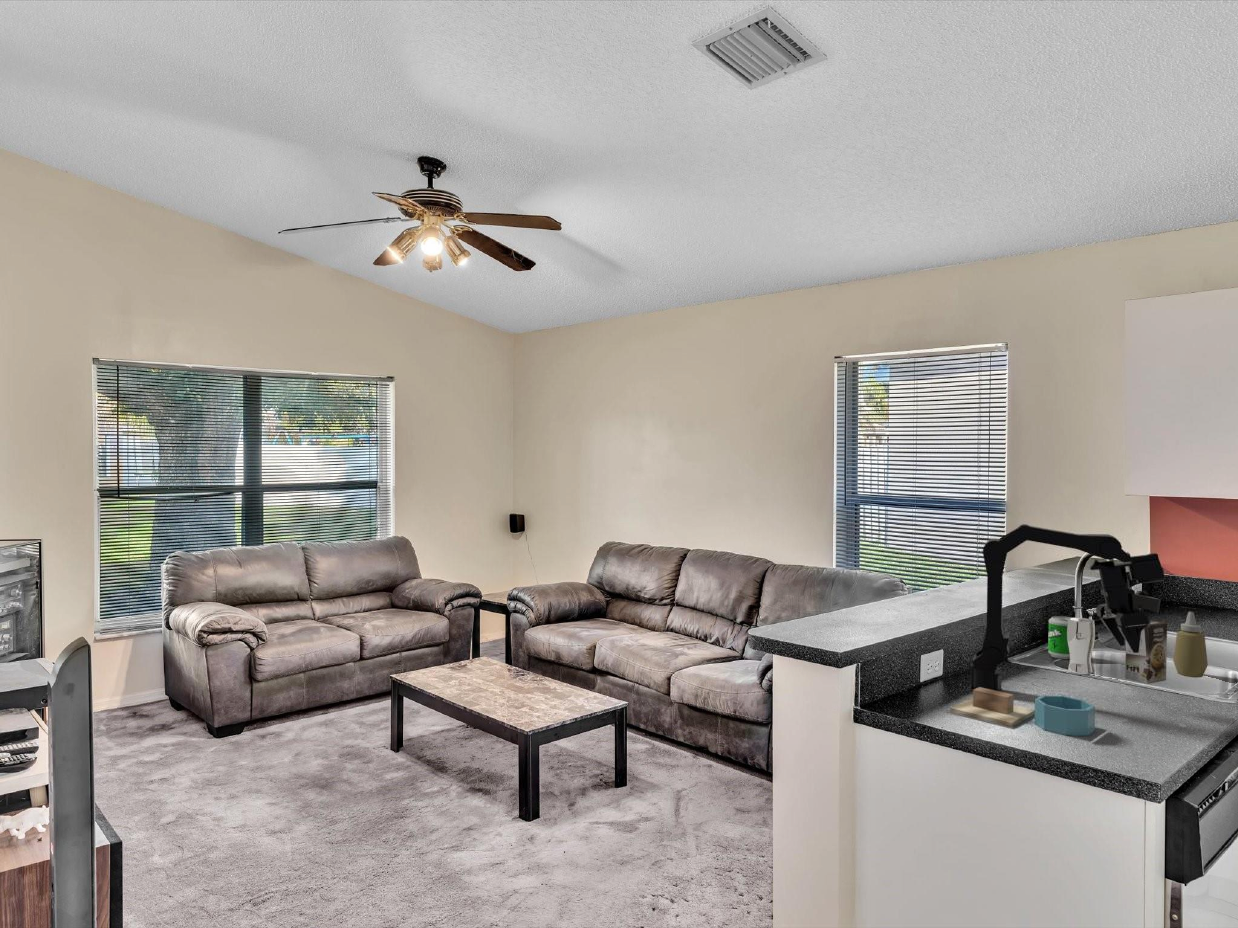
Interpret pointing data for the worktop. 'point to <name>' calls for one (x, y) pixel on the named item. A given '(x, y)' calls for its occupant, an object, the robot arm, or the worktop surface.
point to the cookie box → (1148, 655)
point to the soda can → (1058, 637)
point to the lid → (993, 707)
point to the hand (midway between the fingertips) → (1129, 649)
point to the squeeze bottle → (1190, 649)
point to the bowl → (1065, 715)
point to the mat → (996, 723)
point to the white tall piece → (1080, 644)
